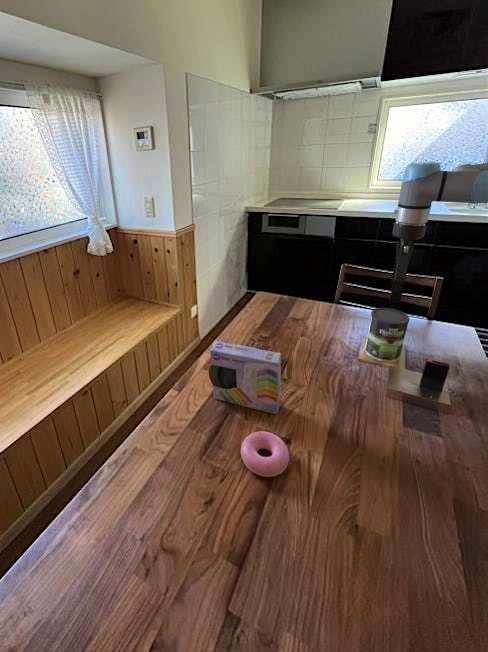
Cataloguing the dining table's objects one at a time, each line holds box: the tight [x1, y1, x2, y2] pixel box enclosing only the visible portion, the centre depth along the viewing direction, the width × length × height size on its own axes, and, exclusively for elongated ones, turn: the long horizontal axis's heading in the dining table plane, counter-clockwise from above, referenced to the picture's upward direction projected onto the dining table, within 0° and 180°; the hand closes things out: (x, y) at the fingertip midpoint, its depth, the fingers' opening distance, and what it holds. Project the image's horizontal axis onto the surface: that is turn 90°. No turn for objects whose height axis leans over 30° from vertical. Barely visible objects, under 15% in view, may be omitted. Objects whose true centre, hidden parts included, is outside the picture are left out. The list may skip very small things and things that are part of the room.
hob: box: [385, 366, 452, 415], centre depth 93 cm, size 15×11×3 cm
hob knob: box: [420, 358, 451, 391], centre depth 90 cm, size 5×2×8 cm, turn 60°
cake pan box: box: [208, 340, 282, 415], centre depth 91 cm, size 19×5×18 cm, turn 65°
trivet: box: [357, 337, 406, 369], centre depth 110 cm, size 13×13×1 cm
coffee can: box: [365, 307, 410, 362], centre depth 107 cm, size 10×10×14 cm
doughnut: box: [240, 430, 290, 478], centre depth 77 cm, size 11×11×4 cm
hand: (395, 292), depth 101 cm, fingers open, 13 cm apart
